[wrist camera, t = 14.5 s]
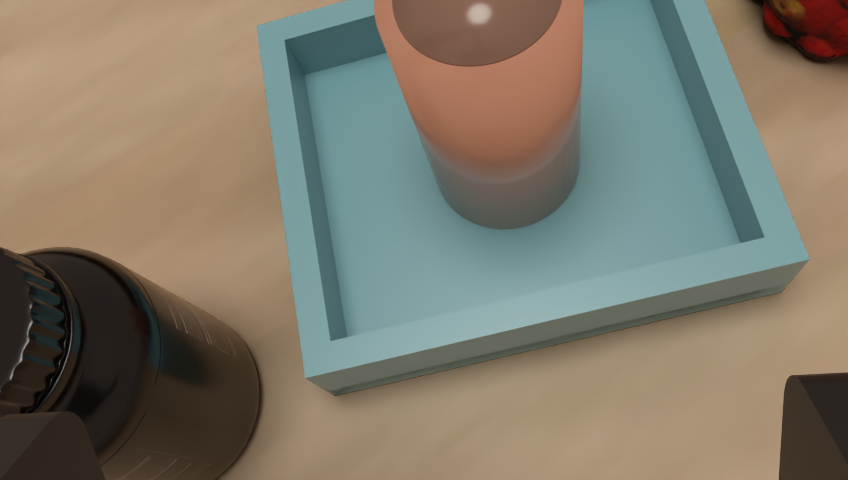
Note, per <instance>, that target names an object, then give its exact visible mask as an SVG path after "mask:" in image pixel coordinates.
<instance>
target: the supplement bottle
mask: <svg viewBox="0 0 848 480" xmlns="http://www.w3.org/2000/svg"><path fill="white" fill-rule="evenodd" d="M258 404H259V381H258V375H257V371H256V367H255V364H254V361H253V358H252V356H251V354H250V352H249V350H248V348H247V347H246V345H245V343H244V342H243V341H242V339H241V338H240V337H239V336H238V335H237V334H236V333H235V332H234V331H233V330H232V329H231V328H230V327H228V326H227V325H226V324H225V323H223V322H221V321H220V320H218V319H217V318H215V317H213V316H212V315H210V314H209V313H207V312H205V311H203V310H201V309H200V308H198V307H196V306H194V305H193V304H191V303H189V302H187V301H185V300H184V299H182V298H180V297H178V296H176V295H175V294H173V293H171V292H169V291H167V290H166V289H164V288H162V287H160V286H159V285H157V284H155V283H153V282H151V281H150V280H148V279H146V278H144V277H142V276H141V275H139V274H137V273H135V272H134V271H132V270H130V269H128V268H126V267H125V266H123V265H121V264H119V263H117V262H115V261H113V260H111V259H109V258H107V257H105V256H102V255H100V254H97V253H95V252H92V251H88V250H84V249H79V248H70V247H53V248H44V249H39V250H34V251H29V252H26V253H23V254H17V253H14V252H12V251H10V250H7V249H4V248H2V247H0V418H2V417H3V416H6V415H9V414H27V413H46V412H65V411H69V412H73V413H74V414H76V415H77V416H78V417H79V418H80V419H81V420H82V422H83V423H84V425H85V427H86V430H87V432H88V435H89V438H90V440H91V443H92V445H93V448H94V451H95V453H96V456H97V458H98V461H99V464H100V466H101V469H102V472H103V474H104V477H105V479H106V480H214V479H215V478H216V477H218V476H219V475H220V474H221V473H223V472H224V471H225V470H226V469H227V468H228V467H229V466H230V465H231V464H232V463H233V461H234V460H235V459H236V458H237V456H238V455H239V454H240V452H241V451H242V449H243V448H244V446H245V444H246V442H247V440H248V438H249V436H250V434H251V432H252V429H253V426H254V423H255V420H256V416H257V411H258Z"/></svg>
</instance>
